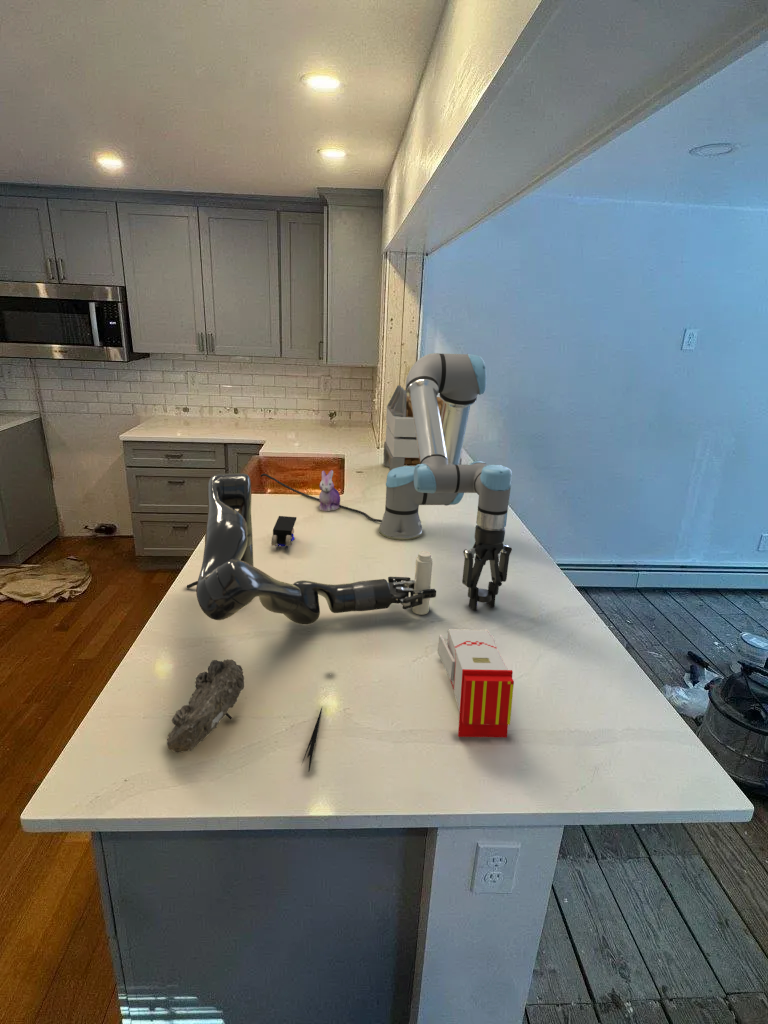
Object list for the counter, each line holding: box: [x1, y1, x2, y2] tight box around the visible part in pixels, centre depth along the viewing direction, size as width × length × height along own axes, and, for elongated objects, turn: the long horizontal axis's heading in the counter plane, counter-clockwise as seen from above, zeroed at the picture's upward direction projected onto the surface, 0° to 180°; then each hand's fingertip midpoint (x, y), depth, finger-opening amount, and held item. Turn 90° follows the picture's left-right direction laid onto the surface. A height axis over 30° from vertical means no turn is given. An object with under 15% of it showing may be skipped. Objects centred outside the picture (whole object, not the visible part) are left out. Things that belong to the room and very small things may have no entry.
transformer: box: [383, 384, 463, 471], centre depth 268 cm, size 34×33×41 cm
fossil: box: [166, 658, 245, 754], centre depth 106 cm, size 22×10×15 cm
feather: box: [301, 673, 332, 771], centre depth 108 cm, size 2×28×2 cm
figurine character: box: [270, 515, 297, 551], centre depth 186 cm, size 7×8×15 cm
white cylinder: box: [412, 550, 434, 616], centre depth 147 cm, size 4×4×16 cm
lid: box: [477, 588, 492, 604], centre depth 151 cm, size 5×5×2 cm
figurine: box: [318, 469, 341, 512], centre depth 220 cm, size 9×10×15 cm
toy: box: [437, 628, 515, 738], centre depth 117 cm, size 12×13×30 cm
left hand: (431, 588), depth 148 cm, fingers closed on white cylinder, 4 cm apart
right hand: (481, 606), depth 153 cm, fingers open, 5 cm apart
